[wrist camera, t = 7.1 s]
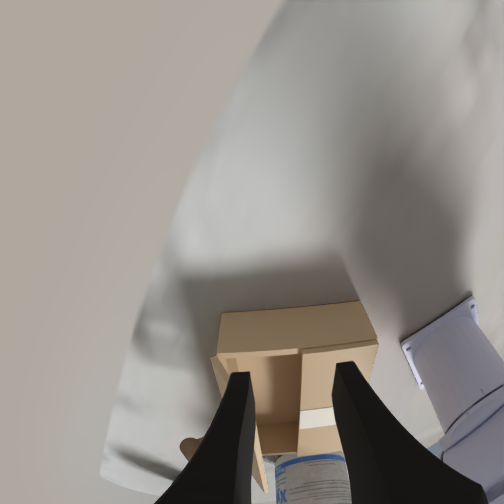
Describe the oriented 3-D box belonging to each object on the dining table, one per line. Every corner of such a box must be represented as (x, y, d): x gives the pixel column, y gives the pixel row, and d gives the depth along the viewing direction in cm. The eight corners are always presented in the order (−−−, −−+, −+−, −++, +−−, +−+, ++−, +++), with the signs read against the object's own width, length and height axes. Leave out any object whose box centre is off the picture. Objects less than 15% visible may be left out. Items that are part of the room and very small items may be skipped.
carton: (360, 300, 21) (379, 343, 17) (338, 416, 28) (345, 450, 24) (221, 312, 21) (215, 359, 17) (245, 424, 28) (244, 460, 24)
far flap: (244, 456, 25) (202, 474, 23) (216, 355, 17) (145, 381, 16) (268, 491, 21) (223, 511, 19) (253, 411, 14) (169, 446, 12)
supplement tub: (265, 451, 32) (266, 553, 19) (338, 436, 30) (355, 541, 17) (286, 472, 36) (290, 555, 23) (347, 459, 34) (361, 543, 21)
